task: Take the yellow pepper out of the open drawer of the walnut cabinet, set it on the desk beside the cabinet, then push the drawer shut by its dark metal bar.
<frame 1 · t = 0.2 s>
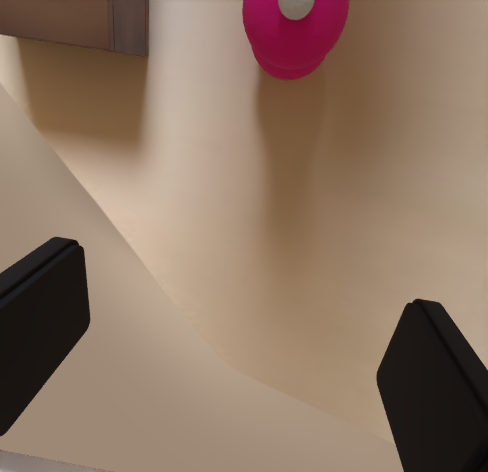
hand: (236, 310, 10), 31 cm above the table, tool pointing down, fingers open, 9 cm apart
pepper mill: (290, 40, 33), on the table
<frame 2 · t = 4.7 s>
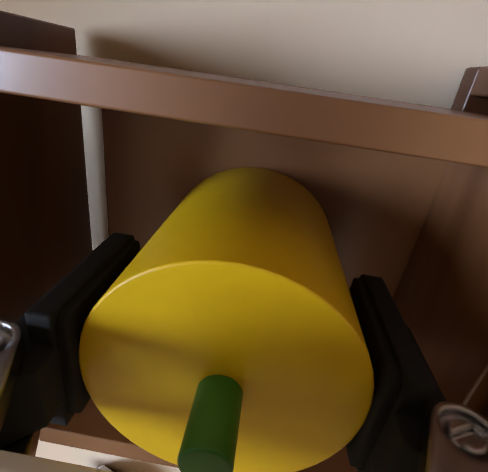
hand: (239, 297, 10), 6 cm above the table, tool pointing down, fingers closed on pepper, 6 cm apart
drawer: (160, 260, 12), point 4 cm above the table, slide at 14.0 cm, touching pepper
pepper: (250, 244, 13), point 2 cm above the table, touching drawer, gripper
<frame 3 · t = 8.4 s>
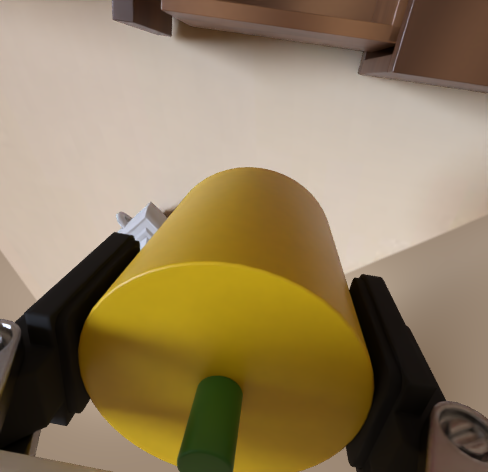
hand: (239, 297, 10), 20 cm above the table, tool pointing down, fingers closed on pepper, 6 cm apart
stamp: (162, 236, 33), on the table
pepper: (249, 245, 13), point 17 cm above the table, touching gripper
when the fingers open (4 cm above the table, at t = 12.5 s): pepper stays where it is, on the table.
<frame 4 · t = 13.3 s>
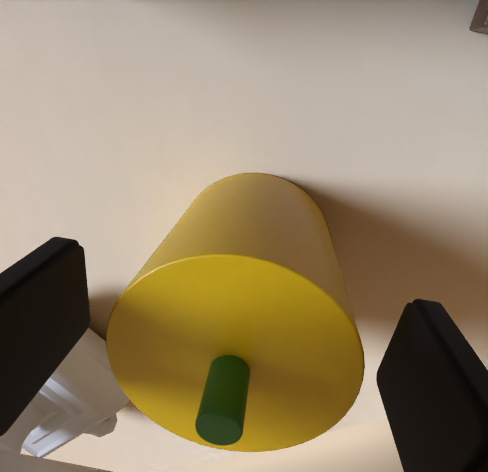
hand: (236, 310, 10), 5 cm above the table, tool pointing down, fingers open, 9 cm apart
stamp: (73, 340, 18), on the table
pepper: (253, 244, 14), on the table
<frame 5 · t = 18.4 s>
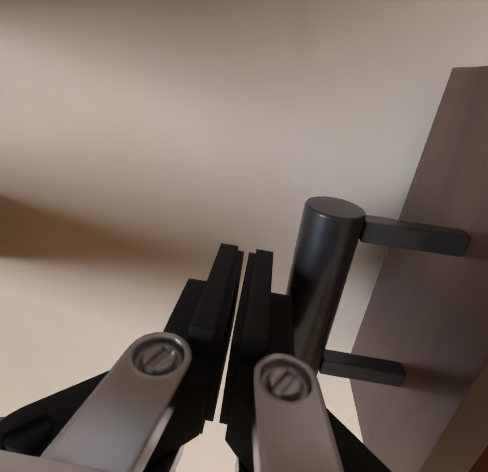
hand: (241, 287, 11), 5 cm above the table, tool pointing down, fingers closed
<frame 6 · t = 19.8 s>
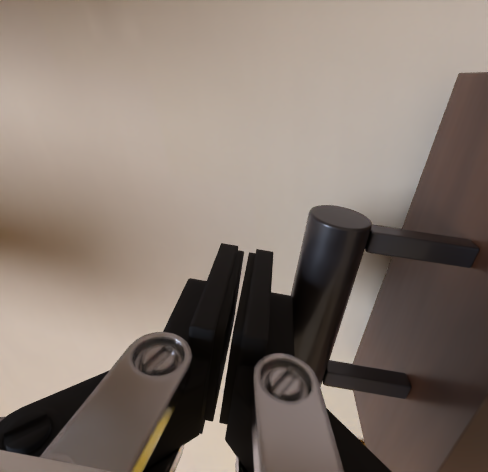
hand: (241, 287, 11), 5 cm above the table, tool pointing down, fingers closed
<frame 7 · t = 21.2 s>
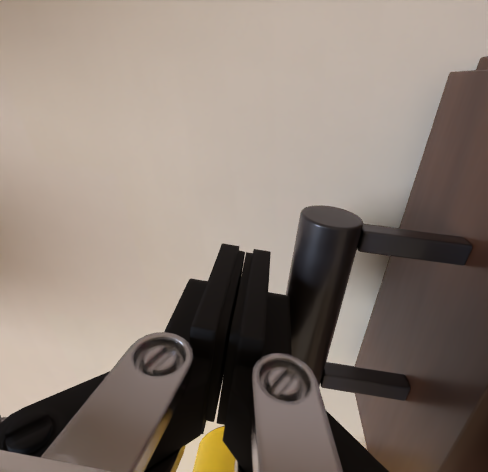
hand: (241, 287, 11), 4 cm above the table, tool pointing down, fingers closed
pepper: (246, 457, 22), on the table
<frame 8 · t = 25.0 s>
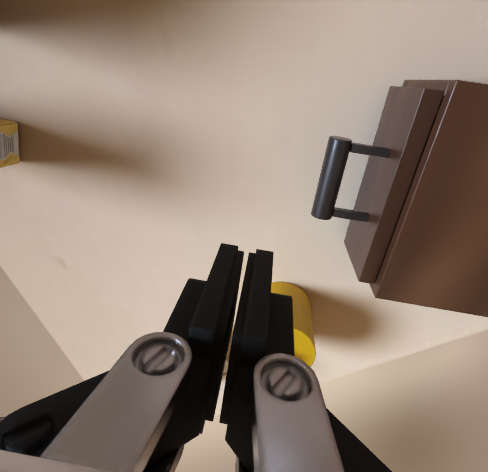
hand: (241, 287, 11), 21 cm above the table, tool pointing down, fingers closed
cabinet: (472, 186, 29), on the table
drawer: (448, 195, 25), point 4 cm above the table, slide at 0.0 cm, touching cabinet
pepper: (280, 306, 37), on the table
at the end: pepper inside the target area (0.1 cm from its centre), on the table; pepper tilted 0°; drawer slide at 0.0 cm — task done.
